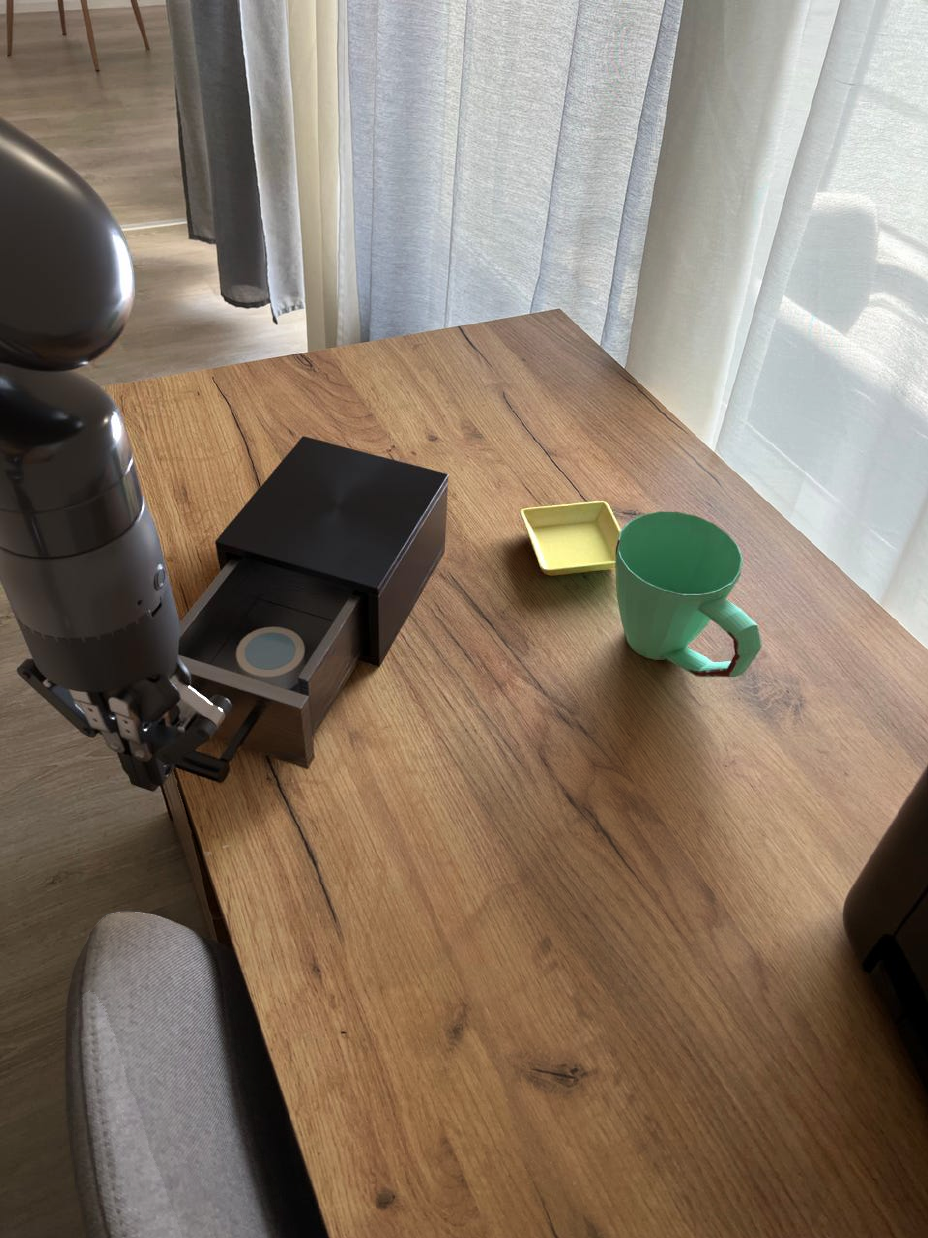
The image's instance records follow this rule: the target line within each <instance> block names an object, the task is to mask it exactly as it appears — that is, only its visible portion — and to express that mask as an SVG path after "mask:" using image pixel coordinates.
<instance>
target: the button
mask: <svg viewBox="0 0 928 1238" xmlns="http://www.w3.org/2000/svg"><path fill="white" fill-rule="evenodd" d="M236 661H237V667H238V672H239V674H240V675H244V676H247V677H250V678H253V679H256V680H259V681H262V682H265V683H268V684H272V685H275V686H278V687H281V688H284V689H287V690H288V689H290V688H292V687H294V686H295V685H296V684H298V677H299V675H300V673H301V672H302V670H303V669H304V667H305V666H306V654H305V646H304V643H303V641H302V639H301V638H300V637H299V636H298V635H297V634H296V633H294V632H293V631H291V630H289V629H286V628H282V627H265V628H260V629H257V630H255V631H253V632H251V633H249V634H248V635H246V636H245V637H244V638H243V639H242V640H241V641H240V643H239V644H238V646H237V649H236Z"/></svg>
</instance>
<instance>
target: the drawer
mask: <svg viewBox="0 0 928 1238" xmlns="http://www.w3.org/2000/svg"><path fill="white" fill-rule="evenodd" d="M179 625H180V634H179V646H178V656H179V658H180V660H181V661H182V663H183V664H184V665H185V666H186V668H187V669H188V670H189V672H190V675H191V685H190V687H192V688H193V689H194V690H195V691H197V692H198V693H199V694H201V695H202V696H203V697H205V698H206V699H207V700H208V699H210V698H211V697H213V696H214V695H221V696H224V697H225V698H227V699H228V700H229V701H230V702H231V704H232V708H231V709H230V711H229V712H228V714H227V715H226V717H225V718H224V720H223V721H222V723H221V724H220V726H219V727H218V729H217V730H216V731H215V733H214V734H213V736H212V737H211V738H214V739H216V740H220V741H222V742H225V743H228V745H227V746H226V747H225V749H224V751H223V752H222V754H221V755H220V757H219V758H218V757H216V756H213V755H210V754H208V753H204V752H202V751H199V750H197V749H196V750H194V751H193V752H191V753H190V754H188V755H187V756H185V757H184V758H182V759H181V760H179V761H178V762H176V763H175V767H174V769H177V770H181V771H183V772H187V773H189V774H192V775H195V776H197V777H201V778H203V779H206V780H209V781H212V782H214V783H218V784H223V783H224V782H225V781H226V779H227V778H228V777H229V774H230V770H231V762H232V760H233V759H234V758H235V757H236V755H237V753H238V751H239V750H240V749H241V748H242V749H246V750H249V751H251V752H255V753H258V754H261V755H264V756H266V757H270V758H272V759H276V760H279V761H281V762H285V763H286V764H287V763H288V764H290V765H294V766H296V767H300V768H302V769H305V770H309V768H310V767H311V765H312V763H313V761H314V759H315V746H314V738H315V736H316V734H317V732H318V730H319V729H320V727H321V726H322V724H323V722H324V720H325V719H326V717H327V715H328V714H329V712H330V710H331V708H332V707H333V705H334V703H335V702H336V700H337V699H338V697H339V695H340V693H341V691H342V690H343V688H344V686H345V685H346V683H347V681H348V680H349V678H350V676H351V674H352V673H353V671H354V669H355V668H356V666H357V664H358V663H359V662H360V661H359V659H360V658H361V656H362V654H363V653H364V651H365V649H366V647H367V646H368V644H369V642H370V641H369V605H368V593H364V592H361V591H358V590H354V589H351V588H347V587H344V586H341V585H337V584H334V583H330V582H327V581H324V580H320V579H317V578H313V577H310V576H307V575H303V574H300V573H296V572H293V571H289V570H286V569H283V568H279V567H276V566H272V565H269V564H266V563H262V562H259V561H255V560H252V559H249V558H245V557H242V556H238V555H235V554H234V555H233V557H232V558H231V559H230V560H229V562H228V563H227V564H226V565H225V567H224V568H223V569H222V570H221V572H220V571H219V573H218V574H217V575H216V577H215V578H214V579H213V580H212V582H211V583H210V584H209V585H208V587H207V588H206V589H205V590H204V592H203V593H202V594H201V595H200V596H199V598H198V599H197V600H196V601H195V603H194V604H193V606H191V608H190V609H189V610H188V611H187V613H186V614H185V615H184V617H183V618H181V620H180V621H179ZM265 627H282V628H286V629H289V630H291V631H293V632H294V633H296V634H297V635H298V636H299V637H300V638H301V639H302V641H303V643H304V646H305V654H306V666H305V667H304V669H303V670H302V672H301V673H300V675H299V677H298V684H296V685H295V686H294V687H292V688H290V689H288V690H287V689H284V688H281V687H278V686H275V685H272V684H268V683H265V682H262V681H259V680H256V679H253V678H250V677H247V676H244V675H240V674H239V672H238V667H237V661H236V649H237V646H238V644H239V643H240V641H241V640H242V639H243V638H244V637H245V636H246V635H248V634H249V633H251V632H253V631H255V630H257V629H260V628H265ZM179 714H180V709H179V708H178V706H177V705H175V706H174V707H172V708H171V709H170V710H169V718H170V723H171V726H175V725H176V724H177V723H178V721H180V719H179V717H178V715H179Z"/></svg>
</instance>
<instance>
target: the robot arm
mask: <svg viewBox="0 0 928 1238" xmlns="http://www.w3.org/2000/svg"><path fill="white" fill-rule="evenodd" d="M135 277H136V276H135V268H134V263H133V258H132V254H131V250H130V246H129V245H128V242H127V239H126V237H125V235H124V232H123V229H122V228H121V227H120V225H119V222H118V221H117V219H116V217H115V215H114V214H113V212H112V211H111V209H110V207H109V206H108V205H107V203H106V202H105V201H104V200H103V198H102V196H101V195H99V193H98V192H97V191H96V190H95V189H94V188H93V187H92V185H90V183H89V182H88V181H87V180H86V179H85V178H83V176H81V174H79V173H78V172H77V171H76V170H75V169H74V168H72V166H70V165H69V164H68V163H66V162H65V161H64V160H62V159H61V158H60V157H59V156H57V154H55V153H54V152H53V151H51V150H50V149H48V148H47V147H46V146H45V145H43V144H41V143H40V142H38V141H37V140H35V139H34V138H33V137H31V136H30V135H28V134H27V133H26V132H24V131H23V130H21V129H20V128H19V127H17V126H16V125H14V124H13V123H11V122H9V121H8V120H7V119H6V118H4V117H2V116H1V115H0V584H1V586H2V589H3V591H4V593H5V596H6V598H7V601H8V603H9V605H10V608H11V610H12V613H13V615H14V617H15V620H16V622H17V625H18V627H19V630H20V632H21V634H22V636H23V639H24V642H25V644H26V646H27V649H28V651H29V653H30V654H29V655H28V656H27V657H26V658H25V659H24V660H23V662H21V664H20V665H19V666H18V667H17V668H16V673H17V675H18V676H19V677H20V678H22V680H24V681H25V682H26V683H27V684H28V685H29V686H30V687H31V688H32V689H33V690H34V691H36V693H38V694H39V695H40V696H41V698H43V699H44V700H45V701H46V702H48V703H49V705H51V706H52V707H53V709H55V710H56V711H57V712H58V713H59V714H61V715H62V716H63V717H64V718H65V719H66V720H67V721H68V722H69V723H70V724H71V725H72V726H74V727H75V728H76V729H77V730H78V731H79V732H80V733H81V734H82V735H84V736H86V737H88V738H93V739H94V738H95V737H96V736H97V735H101V736H102V738H103V739H104V741H105V744H106V747H108V748H109V749H110V750H112V751H113V752H115V753H116V754H117V757H118V760H119V763H120V765H121V769H122V770H123V772H124V773H125V774H126V776H128V779H129V782H130V785H132V786H134V787H137V788H140V789H143V790H146V791H149V792H152V793H153V792H156V791H157V789H158V788H159V787H163V786H164V784H165V783H166V781H167V780H168V778H169V777H170V775H171V774H172V773H173V771H174V769H175V768H174V767H175V763H176V762H178V761H179V760H181V759H182V758H184V757H185V756H187V755H188V754H190V753H191V752H193V751H194V750H196V751H197V749H199V748H201V747H202V746H204V745H205V744H207V743H208V742H209V741H210V740H211V739H212V738H213V737H212V736H213V734H214V733H215V731H216V730H217V729H218V727H219V726H220V724H221V723H222V721H223V720H224V718H225V717H226V715H227V714H228V712H229V711H230V709H231V708H232V704H231V702H230V701H229V700H228V699H227V698H225V697H224V696H221V695H214V696H213V697H211V698H210V699H208V700H207V699H206V698H205V697H203V696H202V695H201V694H199V693H198V692H197V691H195V690H194V689H193V688H192V687H190V685H191V675H190V672H189V670H188V669H187V668H186V666H185V665H184V664H183V663H182V661H181V660H180V658H179V656H178V646H179V634H180V625H179V623H180V619H179V614H178V611H177V607H176V602H175V599H174V594H173V590H172V586H171V582H170V577H169V573H168V569H167V564H166V561H165V557H164V552H163V549H162V544H161V540H160V536H159V532H158V529H157V526H156V523H155V520H154V518H153V515H152V514H151V511H150V509H149V507H148V504H147V502H146V499H145V496H144V493H143V489H142V485H141V480H140V477H139V472H138V467H137V464H136V459H135V456H134V455H135V454H134V452H133V447H132V443H131V440H130V436H129V433H128V428H127V426H126V422H125V419H124V417H123V414H122V412H121V409H120V407H119V405H118V404H117V402H116V401H115V400H114V399H113V398H112V396H111V394H109V393H108V392H107V390H105V389H104V388H103V387H101V386H100V385H98V383H96V382H95V381H92V380H90V379H89V378H87V377H85V376H84V375H82V374H80V373H79V372H77V371H74V370H77V369H80V368H83V367H85V366H87V365H89V364H92V363H94V362H96V361H97V360H99V359H101V358H102V357H103V356H105V355H106V354H107V353H108V352H109V351H110V350H111V349H112V348H113V347H114V346H115V345H116V344H117V343H118V341H119V340H120V338H121V337H122V336H123V334H124V333H125V331H126V329H127V327H128V325H129V322H130V320H131V317H132V315H133V310H134V306H135V299H136V278H135ZM76 701H77V702H78V703H79V705H77V703H76ZM175 705H177V706H178V708H179V709H180V714H179V715H178V717H179V719H180V721H178V723H177V724H176V725H175V726H171V723H170V718H169V710H170V709H171V708H172V707H174V706H175ZM79 706H80V707H79Z"/></svg>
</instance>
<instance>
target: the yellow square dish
mask: <svg viewBox="0 0 928 1238" xmlns="http://www.w3.org/2000/svg"><path fill="white" fill-rule="evenodd" d="M519 514H520V517H521V519H522V522H523V525H524V528H525V531H526V533H527V535H528V538H529V541H530V544H531V546H532V549H533V551H534V555H535V557H536V559H537V562H538V565H539V568H540V570H541V572H542V573H543V574H544V575H546V576H551V577H553V576H563V575H571V574H580V573H587V572H588V573H589V572H597V571H606V570H615V552H616V546H617V541H618V536H619V532H620V531H621V530H622V529H621V528H620V526H619V524H618V521H617V519H616V517H615V515H614V513H613V510H612V509H611V507H610V505H609V503H608V502H606V501H603V500H595V501H586V502H576V503H568V504H555V505H546V506H534V507H525V508H521V509H520V510H519Z"/></svg>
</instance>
